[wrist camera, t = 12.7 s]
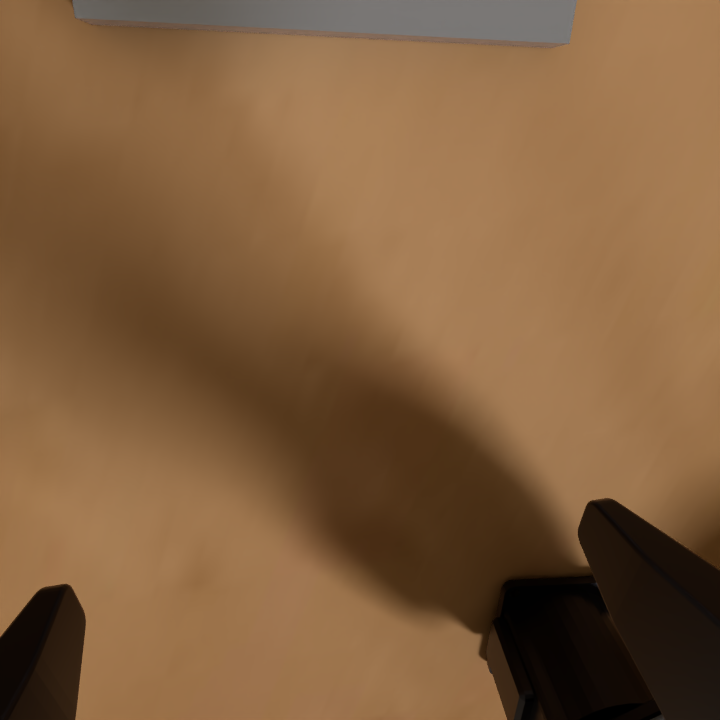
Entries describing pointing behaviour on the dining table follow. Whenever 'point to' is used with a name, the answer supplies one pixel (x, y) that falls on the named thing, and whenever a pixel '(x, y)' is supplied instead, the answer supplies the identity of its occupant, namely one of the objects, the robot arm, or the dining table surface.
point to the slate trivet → (352, 18)
